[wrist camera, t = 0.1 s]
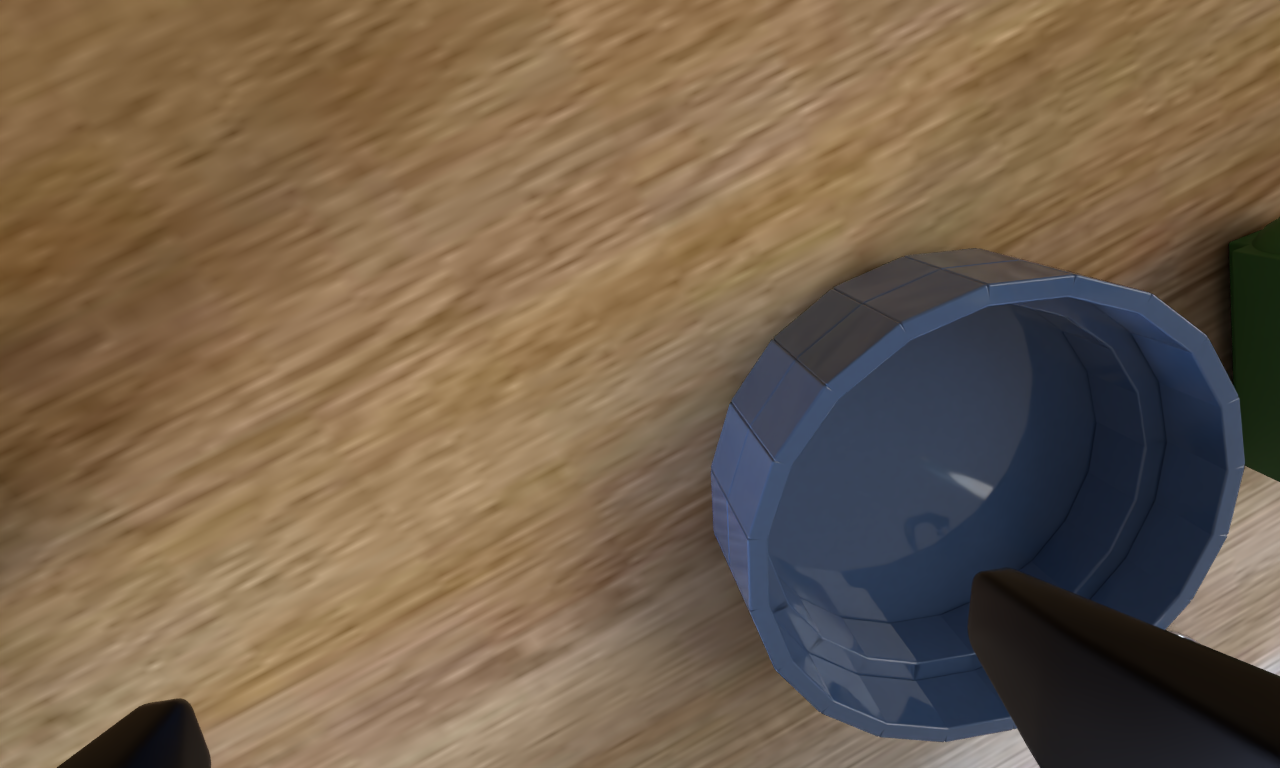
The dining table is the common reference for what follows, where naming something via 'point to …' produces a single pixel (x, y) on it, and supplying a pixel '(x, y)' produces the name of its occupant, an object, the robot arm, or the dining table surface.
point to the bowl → (966, 475)
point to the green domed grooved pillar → (1257, 344)
